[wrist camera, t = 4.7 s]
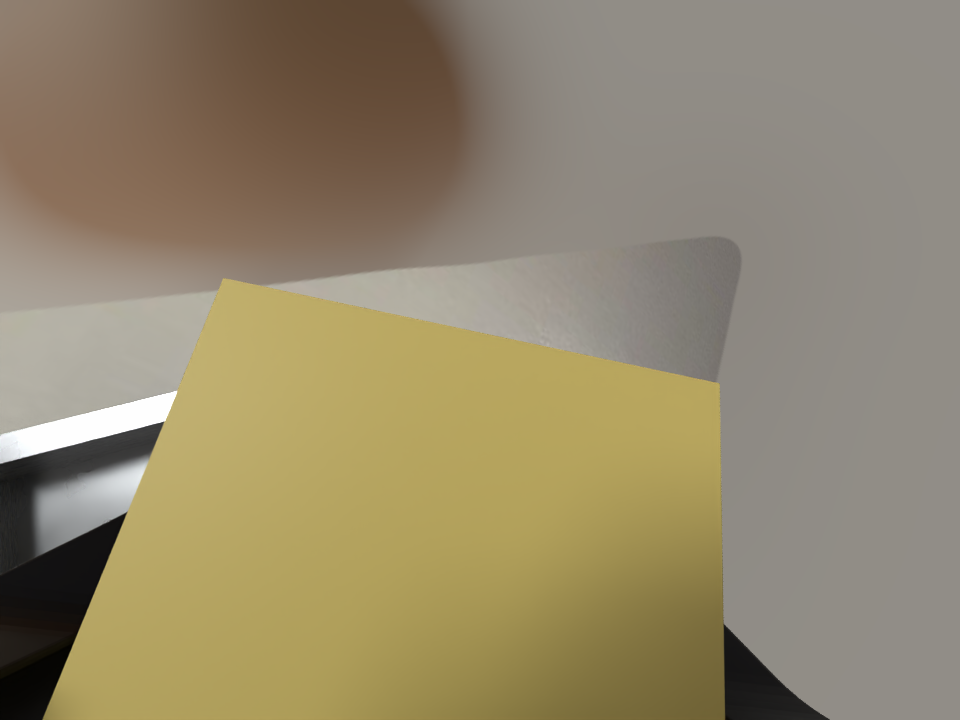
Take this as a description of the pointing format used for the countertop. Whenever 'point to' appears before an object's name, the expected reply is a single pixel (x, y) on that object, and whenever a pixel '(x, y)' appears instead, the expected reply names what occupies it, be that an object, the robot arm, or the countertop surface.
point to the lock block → (410, 532)
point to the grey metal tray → (73, 475)
